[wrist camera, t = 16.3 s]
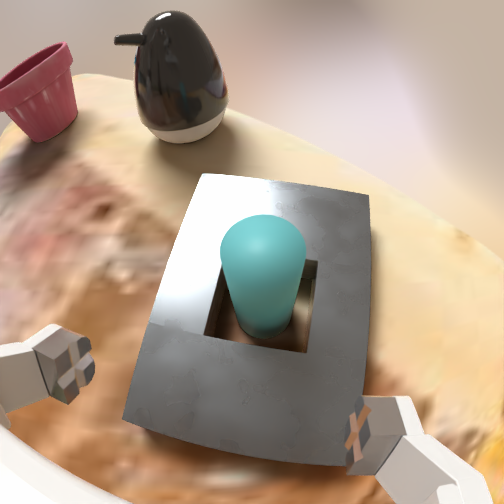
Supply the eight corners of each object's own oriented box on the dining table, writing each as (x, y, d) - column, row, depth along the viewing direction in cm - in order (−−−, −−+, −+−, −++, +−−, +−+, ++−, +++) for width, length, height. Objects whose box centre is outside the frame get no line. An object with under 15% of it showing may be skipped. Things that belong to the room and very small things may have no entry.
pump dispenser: (137, 128, 34) (104, 24, 21) (209, 98, 36) (194, -4, 23) (162, 171, 30) (119, 38, 16) (247, 133, 32) (239, 5, 19)
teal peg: (231, 333, 21) (209, 281, 13) (242, 283, 23) (230, 209, 15) (286, 342, 20) (300, 295, 13) (294, 291, 22) (309, 220, 15)
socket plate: (139, 419, 18) (121, 419, 15) (207, 195, 27) (202, 173, 25) (338, 459, 16) (350, 466, 13) (360, 216, 26) (368, 195, 23)
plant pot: (20, 133, 39) (-8, 81, 28) (82, 92, 43) (61, 37, 32) (23, 168, 33) (-17, 104, 22) (99, 116, 37) (72, 45, 26)
